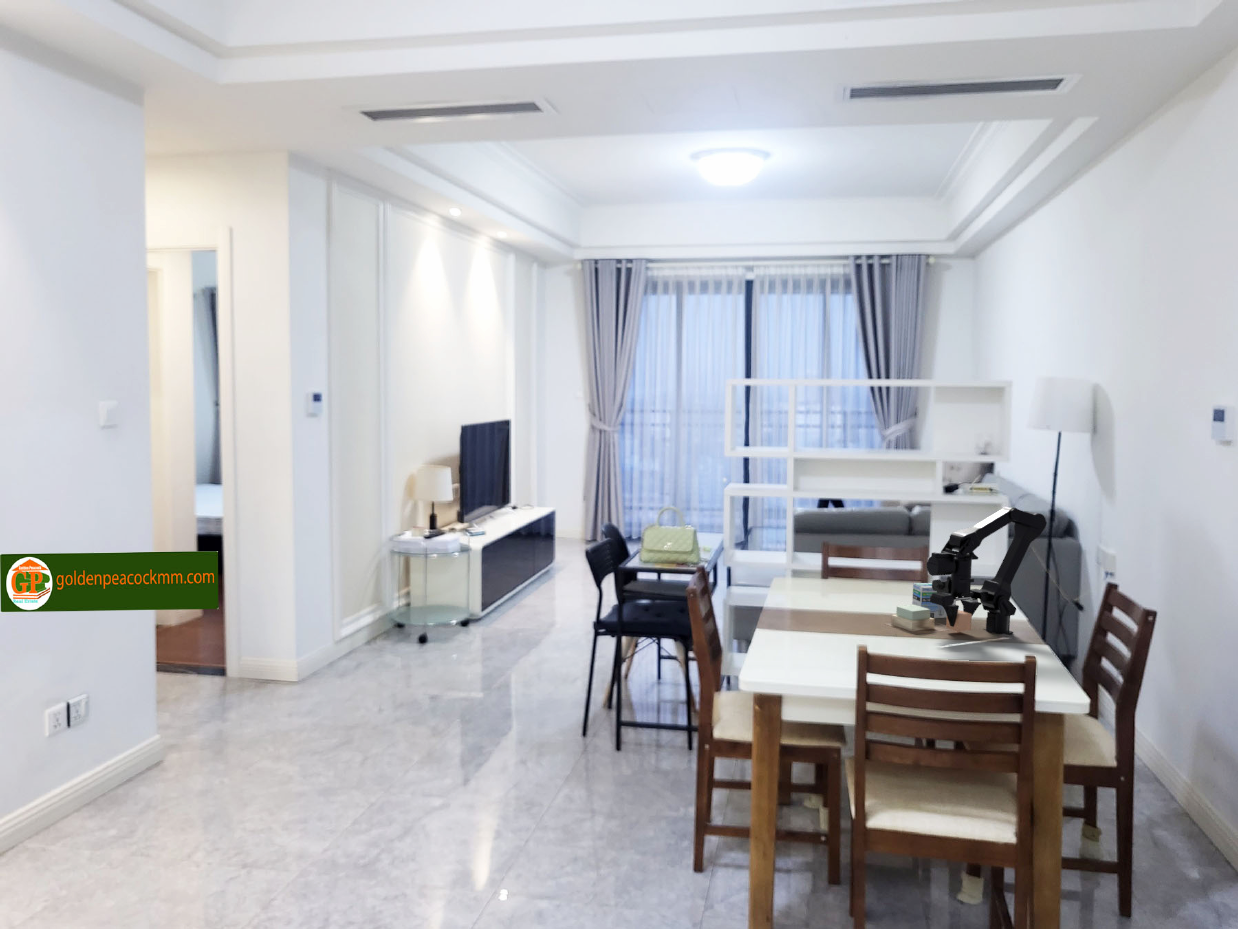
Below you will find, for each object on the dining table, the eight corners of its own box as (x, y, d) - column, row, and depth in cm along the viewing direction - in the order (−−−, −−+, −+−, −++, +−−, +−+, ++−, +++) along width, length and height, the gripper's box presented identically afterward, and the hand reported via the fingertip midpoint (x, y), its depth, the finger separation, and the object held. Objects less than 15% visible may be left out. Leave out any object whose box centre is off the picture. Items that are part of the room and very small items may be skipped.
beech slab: (913, 621, 304) (913, 612, 304) (934, 628, 296) (934, 618, 296) (891, 624, 300) (891, 615, 300) (911, 631, 292) (911, 621, 292)
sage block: (913, 613, 303) (914, 604, 302) (929, 618, 296) (930, 609, 296) (896, 615, 300) (896, 606, 299) (912, 620, 293) (912, 611, 293)
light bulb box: (920, 620, 309) (921, 587, 308) (910, 615, 316) (912, 582, 315) (951, 619, 311) (952, 586, 310) (941, 614, 317) (942, 582, 317)
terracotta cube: (958, 626, 294) (959, 610, 293) (971, 630, 289) (971, 613, 289) (946, 627, 291) (946, 611, 291) (958, 631, 287) (959, 615, 287)
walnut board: (925, 620, 308) (925, 619, 308) (958, 631, 296) (958, 629, 296) (884, 625, 301) (884, 623, 301) (915, 636, 288) (915, 634, 288)
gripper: (964, 567, 300) (961, 616, 302) (917, 571, 292) (915, 622, 293) (991, 574, 290) (989, 625, 291) (944, 578, 282) (942, 631, 283)
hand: (958, 625), depth 290 cm, fingers closed on terracotta cube, 5 cm apart
